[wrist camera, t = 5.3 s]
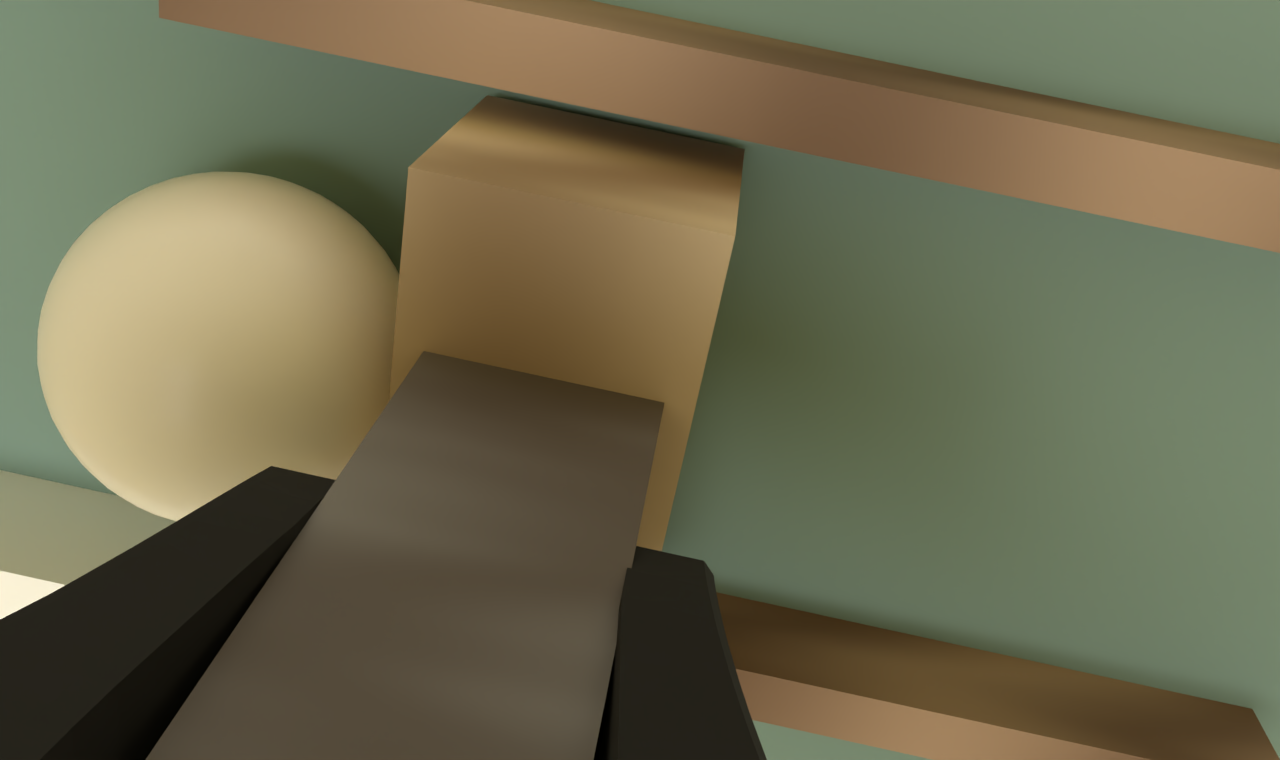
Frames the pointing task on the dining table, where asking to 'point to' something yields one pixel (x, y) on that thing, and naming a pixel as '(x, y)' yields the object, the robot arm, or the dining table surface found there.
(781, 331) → the pitch mat
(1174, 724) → the track
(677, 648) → the robot arm
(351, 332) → the ball
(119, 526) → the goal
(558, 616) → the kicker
